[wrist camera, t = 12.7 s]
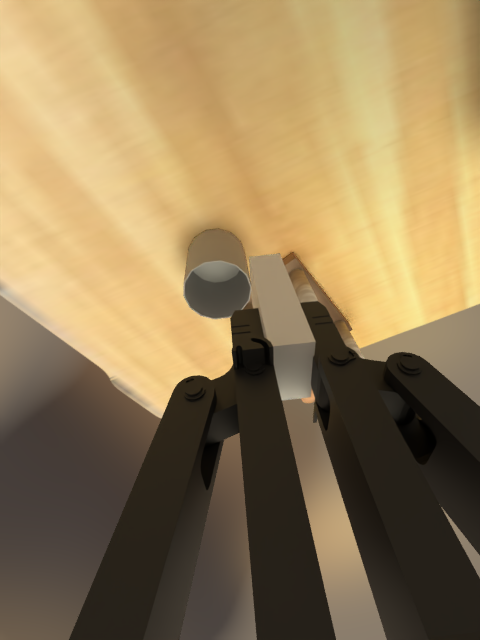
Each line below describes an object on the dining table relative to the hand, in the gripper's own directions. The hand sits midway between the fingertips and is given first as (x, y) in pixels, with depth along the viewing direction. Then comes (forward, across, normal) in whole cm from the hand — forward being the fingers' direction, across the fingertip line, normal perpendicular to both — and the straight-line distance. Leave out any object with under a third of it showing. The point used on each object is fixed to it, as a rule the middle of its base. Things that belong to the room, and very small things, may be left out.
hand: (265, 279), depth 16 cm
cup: (+30, -4, -12) cm, 32 cm away
